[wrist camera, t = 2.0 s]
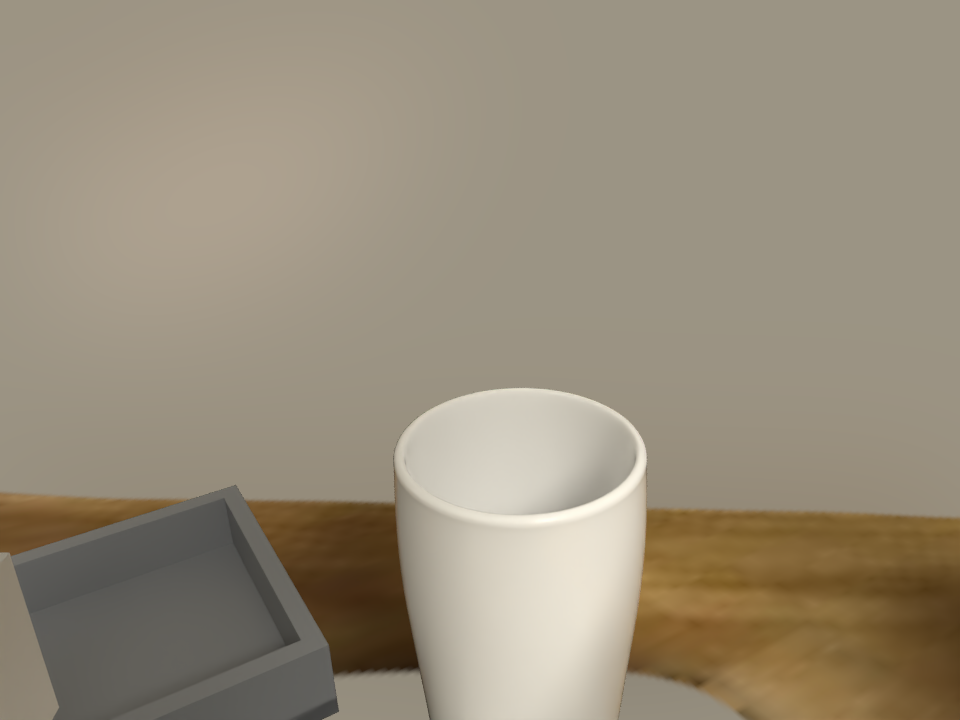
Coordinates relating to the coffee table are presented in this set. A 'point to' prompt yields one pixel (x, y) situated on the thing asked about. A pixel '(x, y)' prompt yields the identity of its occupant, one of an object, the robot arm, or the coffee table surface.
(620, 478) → the white cup
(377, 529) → the coffee table surface
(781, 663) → the coffee table surface
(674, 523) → the coffee table surface
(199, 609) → the tray
